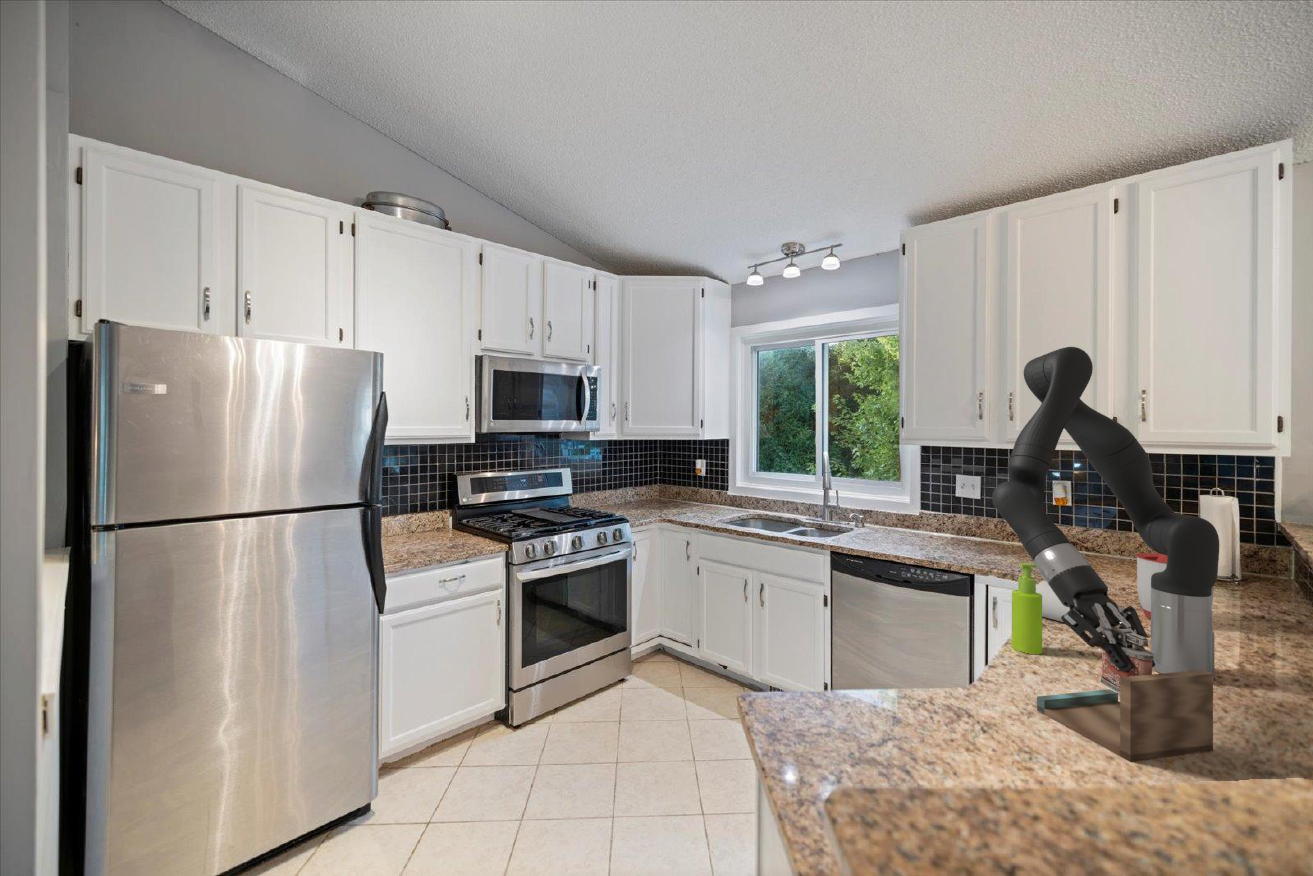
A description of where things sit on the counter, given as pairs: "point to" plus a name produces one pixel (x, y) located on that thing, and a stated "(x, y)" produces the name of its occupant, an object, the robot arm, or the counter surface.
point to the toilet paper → (1051, 602)
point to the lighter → (1136, 655)
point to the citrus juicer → (1149, 577)
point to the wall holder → (1142, 715)
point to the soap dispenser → (1027, 614)
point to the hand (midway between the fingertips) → (1139, 668)
